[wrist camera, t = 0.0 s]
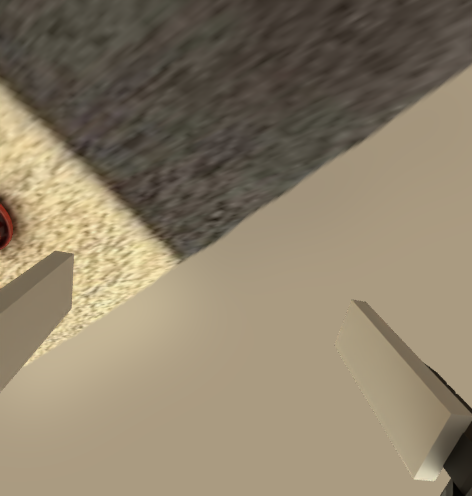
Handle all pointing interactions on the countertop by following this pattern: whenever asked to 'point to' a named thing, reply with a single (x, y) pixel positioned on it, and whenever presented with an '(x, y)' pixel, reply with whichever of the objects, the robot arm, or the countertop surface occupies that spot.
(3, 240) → the plant pot
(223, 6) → the countertop surface
